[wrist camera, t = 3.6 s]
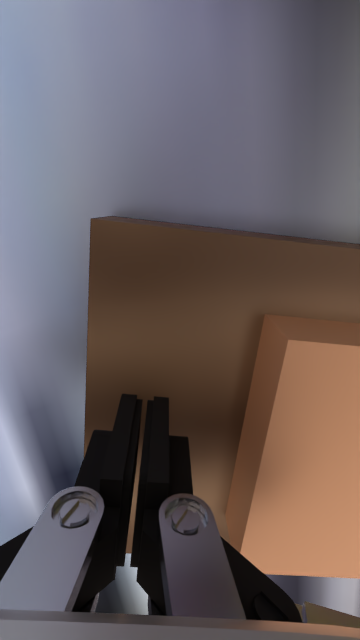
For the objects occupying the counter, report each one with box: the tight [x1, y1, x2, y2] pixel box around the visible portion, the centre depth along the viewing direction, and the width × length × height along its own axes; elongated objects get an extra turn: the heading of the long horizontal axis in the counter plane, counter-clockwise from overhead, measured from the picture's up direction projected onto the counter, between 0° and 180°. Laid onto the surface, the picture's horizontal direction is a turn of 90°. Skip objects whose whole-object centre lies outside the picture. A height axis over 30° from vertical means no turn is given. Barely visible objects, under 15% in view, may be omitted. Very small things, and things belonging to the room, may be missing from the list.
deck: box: [84, 216, 360, 553], centre depth 15 cm, size 14×16×4 cm
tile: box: [225, 314, 360, 578], centre depth 12 cm, size 9×6×2 cm, turn 174°
